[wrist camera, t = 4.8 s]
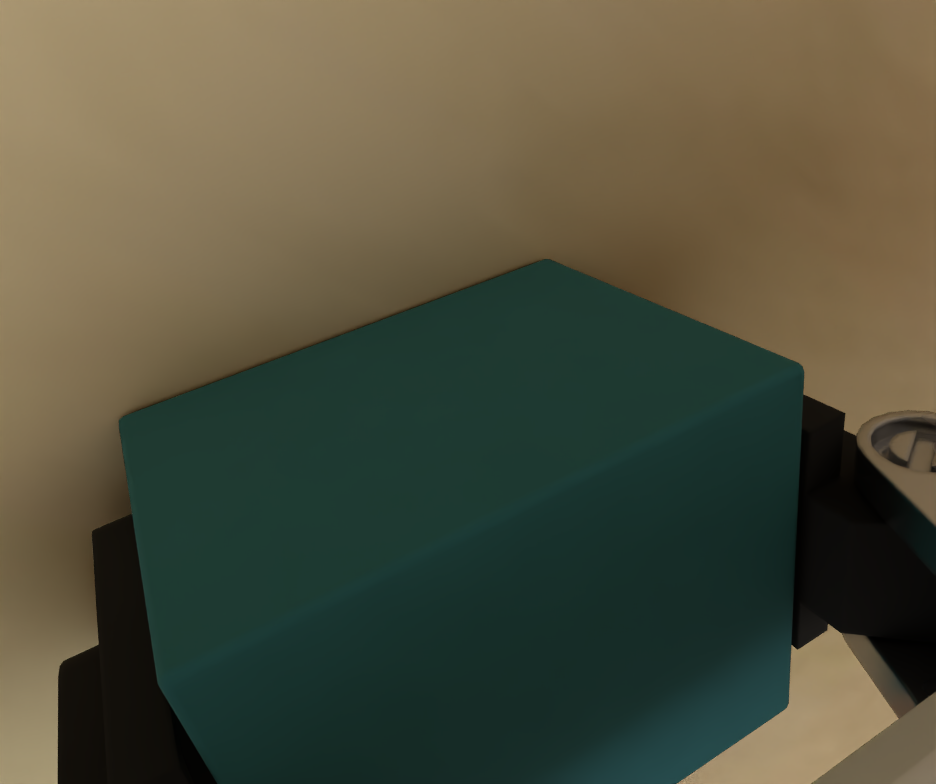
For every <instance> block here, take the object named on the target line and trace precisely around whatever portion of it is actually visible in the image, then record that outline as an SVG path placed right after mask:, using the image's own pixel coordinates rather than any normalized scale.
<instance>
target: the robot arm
mask: <svg viewBox="0 0 936 784" xmlns="http://www.w3.org/2000/svg"><path fill="white" fill-rule="evenodd" d="M844 421H845V413H843V412H841V411H839V410H837V409H834V408H832V407H830V406H828V405H826V404H823V403H821V402H819V401H817V400H815V399H813V398H810V397H808V396H806V395H804V394H803V410H802V431H801V452H800V473H799V494H798V515H797V536H796V557H795V578H794V599H793V620H792V641H791V645H793V646H794V647H795V648H796V649H799V648H801V647H802V646H804V645H805V644H807V643H809V642H810V641H812V640H813V639H815V638H816V637H818V636H819V635H821V634H822V633H824V632H825V631H827V628H828V624H829V625H831V626H832V627H834V628H835V629H836V630H838V631H839V632H840V633H842V635H843V637H844V639H845V641H846V643H847V645H848V646H849V648H850V649H851V650H852V652H853V653H854V655H855V656H856V658H857V659H858V661H859V662H860V663H861V665H862V666H863V668H864V669H865V671H866V672H867V674H868V675H869V676H870V678H871V679H872V681H873V682H874V684H875V685H876V687H877V688H878V689H879V691H880V692H881V694H882V695H883V697H884V698H885V700H886V701H887V702H888V704H889V705H890V707H891V708H892V710H893V711H894V713H895V714H896V715H897V717H898V718H899V719H898V720H897V721H895V722H894V723H893V724H891V725H890V726H889V727H887V728H886V729H885V730H883V731H882V732H881V733H879V734H878V735H876V736H875V737H874V738H872V739H871V740H870V741H868V742H867V743H866V744H864V745H863V746H862V747H860V748H859V749H858V750H856V751H855V752H854V753H852V754H851V755H849V756H848V757H847V758H845V759H844V760H843V761H841V762H840V763H839V764H837V765H836V766H835V767H833V768H832V769H831V770H829V771H828V772H827V773H825V774H824V775H822V776H821V777H820V778H818V779H817V780H816V781H814V782H813V783H812V784H936V413H935V412H930V411H910V410H907V411H898V412H890V413H886V414H883V415H880V416H877V417H873V418H872V419H870V420H869V421H867V422H866V423H864V424H863V425H862V426H861V428H860V429H859V431H858V433H857V435H856V436H855V435H853V434H851V433H849V432H847V431H845V430H844ZM92 544H93V560H94V576H95V592H96V608H97V624H98V639H99V645H97V646H95V647H93V648H91V649H89V650H86V651H84V652H82V653H80V654H78V655H76V656H73V657H71V658H69V659H67V660H65V661H63V662H62V664H61V665H60V668H59V676H58V784H217V782H216V781H215V779H214V777H213V776H212V774H211V772H210V771H209V769H208V767H207V766H206V764H205V762H204V761H203V759H202V757H201V756H200V754H199V752H198V751H197V749H196V747H195V746H194V744H193V742H192V741H191V739H190V737H189V736H188V734H187V732H186V731H185V729H184V727H183V726H182V724H181V722H180V721H179V719H178V717H177V715H176V714H175V712H174V710H173V709H172V707H171V705H170V704H169V702H168V700H167V699H166V697H165V695H164V694H163V692H162V690H161V689H160V687H159V685H158V682H157V675H156V668H155V662H154V655H153V649H152V642H151V635H150V629H149V622H148V616H147V609H146V602H145V596H144V589H143V582H142V576H141V569H140V563H139V556H138V549H137V543H136V536H135V529H134V523H133V516H132V514H131V515H129V516H126V517H124V518H121V519H119V520H117V521H114V522H112V523H109V524H107V525H105V526H102V527H100V528H97V529H95V530H93V531H92Z"/></svg>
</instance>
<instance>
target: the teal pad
mask: <svg viewBox="0 0 936 784" xmlns="http://www.w3.org/2000/svg"><path fill="white" fill-rule="evenodd" d="M803 389H804V370H803V367H802V366H801V365H800V364H799V363H797V362H795V361H792V360H790V359H788V358H785V357H783V356H780V355H778V354H776V353H773V352H771V351H768V350H766V349H764V348H761V347H759V346H756V345H754V344H752V343H749V342H747V341H744V340H742V339H740V338H737V337H735V336H732V335H730V334H728V333H725V332H723V331H720V330H718V329H716V328H713V327H711V326H708V325H706V324H704V323H701V322H699V321H696V320H694V319H692V318H689V317H687V316H684V315H682V314H680V313H677V312H675V311H672V310H670V309H668V308H665V307H663V306H660V305H658V304H656V303H653V302H651V301H648V300H646V299H644V298H641V297H639V296H636V295H634V294H632V293H629V292H627V291H624V290H622V289H620V288H617V287H615V286H612V285H610V284H608V283H605V282H603V281H600V280H598V279H596V278H593V277H591V276H588V275H586V274H584V273H581V272H579V271H576V270H574V269H571V268H569V267H567V266H564V265H562V264H559V263H557V262H555V261H552V260H550V259H544V260H542V261H539V262H536V263H534V264H531V265H528V266H526V267H523V268H520V269H517V270H515V271H512V272H509V273H507V274H504V275H501V276H499V277H496V278H493V279H491V280H488V281H485V282H483V283H480V284H477V285H475V286H472V287H469V288H466V289H464V290H461V291H458V292H456V293H453V294H450V295H448V296H445V297H442V298H440V299H437V300H434V301H432V302H429V303H426V304H423V305H421V306H418V307H415V308H413V309H410V310H407V311H405V312H402V313H399V314H397V315H394V316H391V317H389V318H386V319H383V320H381V321H378V322H375V323H372V324H370V325H367V326H364V327H362V328H359V329H356V330H354V331H351V332H348V333H346V334H343V335H340V336H338V337H335V338H332V339H330V340H327V341H324V342H321V343H319V344H316V345H313V346H311V347H308V348H305V349H303V350H300V351H297V352H295V353H292V354H289V355H287V356H284V357H281V358H279V359H276V360H273V361H270V362H268V363H265V364H262V365H260V366H257V367H254V368H252V369H249V370H246V371H244V372H241V373H238V374H236V375H233V376H230V377H228V378H225V379H222V380H219V381H217V382H214V383H211V384H209V385H206V386H203V387H201V388H198V389H195V390H193V391H190V392H187V393H185V394H182V395H179V396H177V397H174V398H171V399H168V400H166V401H163V402H160V403H158V404H155V405H152V406H150V407H147V408H144V409H142V410H139V411H136V412H134V413H131V414H128V415H126V416H123V417H122V418H121V419H120V420H119V430H120V437H121V443H122V450H123V457H124V463H125V470H126V476H127V483H128V490H129V496H130V503H131V510H132V516H133V523H134V529H135V536H136V543H137V549H138V556H139V563H140V569H141V576H142V582H143V589H144V596H145V602H146V609H147V616H148V622H149V629H150V635H151V642H152V649H153V655H154V662H155V668H156V675H157V682H158V685H159V687H160V689H161V690H162V692H163V694H164V695H165V697H166V699H167V700H168V702H169V704H170V705H171V707H172V709H173V710H174V712H175V714H176V715H177V717H178V719H179V721H180V722H181V724H182V726H183V727H184V729H185V731H186V732H187V734H188V736H189V737H190V739H191V741H192V742H193V744H194V746H195V747H196V749H197V751H198V752H199V754H200V756H201V757H202V759H203V761H204V762H205V764H206V766H207V767H208V769H209V771H210V772H211V774H212V776H213V777H214V779H215V781H216V782H217V784H677V783H678V782H680V781H681V780H683V779H684V778H685V777H687V776H688V775H690V774H691V773H693V772H694V771H696V770H697V769H699V768H700V767H702V766H703V765H704V764H706V763H707V762H709V761H710V760H712V759H713V758H715V757H716V756H718V755H719V754H720V753H722V752H723V751H725V750H726V749H728V748H729V747H731V746H732V745H734V744H735V743H737V742H738V741H739V740H741V739H742V738H744V737H745V736H747V735H748V734H750V733H751V732H753V731H754V730H756V729H757V728H758V727H760V726H761V725H763V724H764V723H766V722H767V721H769V720H770V719H772V718H773V717H774V716H776V715H777V714H779V713H780V712H782V711H783V710H785V709H786V708H787V706H788V704H789V683H790V662H791V641H792V620H793V599H794V578H795V557H796V536H797V515H798V494H799V473H800V452H801V431H802V410H803Z"/></svg>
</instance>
